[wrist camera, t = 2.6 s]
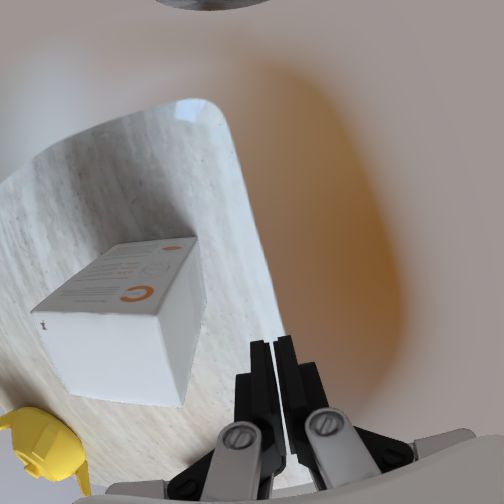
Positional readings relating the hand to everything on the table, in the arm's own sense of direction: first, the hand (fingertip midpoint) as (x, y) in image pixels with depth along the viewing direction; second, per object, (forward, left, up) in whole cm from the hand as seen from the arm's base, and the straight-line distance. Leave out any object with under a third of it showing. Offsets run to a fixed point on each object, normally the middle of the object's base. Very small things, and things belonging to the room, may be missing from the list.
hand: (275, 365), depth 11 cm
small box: (0, -9, -14) cm, 17 cm away
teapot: (+27, -43, -14) cm, 53 cm away
